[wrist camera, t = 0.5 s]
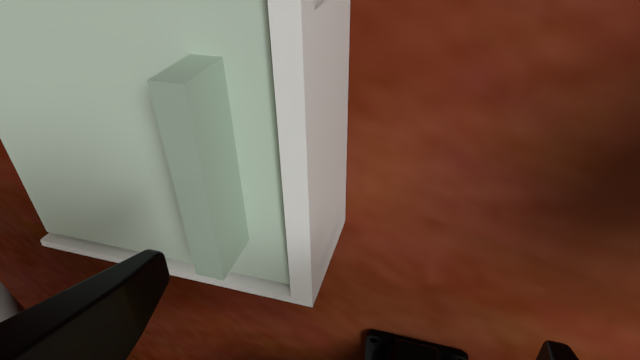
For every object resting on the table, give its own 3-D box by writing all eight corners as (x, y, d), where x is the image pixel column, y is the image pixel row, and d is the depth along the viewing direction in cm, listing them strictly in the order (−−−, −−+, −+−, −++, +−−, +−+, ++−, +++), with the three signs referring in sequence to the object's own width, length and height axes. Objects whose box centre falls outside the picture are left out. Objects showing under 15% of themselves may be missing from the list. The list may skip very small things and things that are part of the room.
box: (345, 221, 24) (312, 307, 19) (118, 181, 28) (42, 245, 23) (351, -65, 16) (299, -43, 11) (33, -69, 20) (-112, -53, 15)
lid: (295, 271, 20) (269, 328, 18) (58, 222, 23) (7, 263, 21) (275, -23, 13) (227, 0, 10) (-63, -35, 16) (-162, -20, 14)
